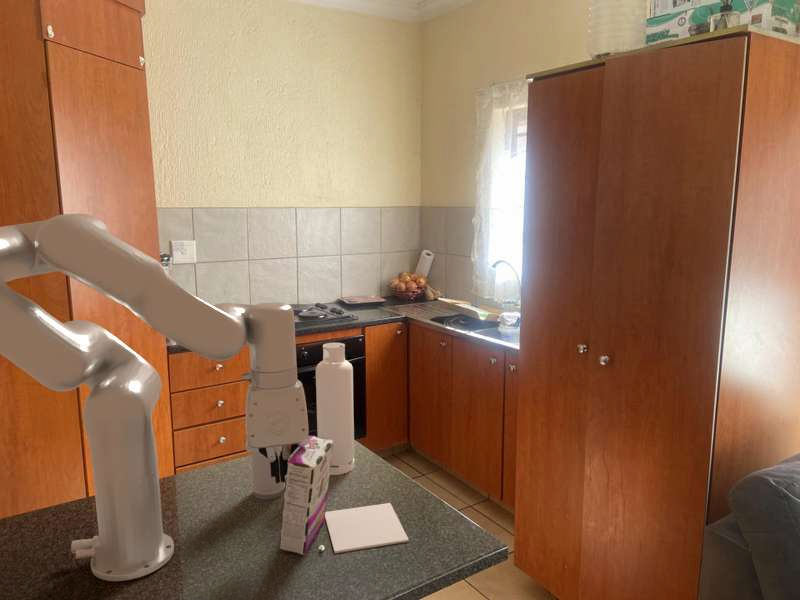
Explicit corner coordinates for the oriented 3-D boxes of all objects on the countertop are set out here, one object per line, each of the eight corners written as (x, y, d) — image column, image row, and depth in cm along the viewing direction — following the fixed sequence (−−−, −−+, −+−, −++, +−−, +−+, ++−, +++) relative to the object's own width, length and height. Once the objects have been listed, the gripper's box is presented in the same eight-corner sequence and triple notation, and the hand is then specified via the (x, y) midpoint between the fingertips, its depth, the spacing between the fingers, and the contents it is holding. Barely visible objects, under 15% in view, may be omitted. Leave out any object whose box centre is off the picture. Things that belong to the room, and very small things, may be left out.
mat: (334, 553, 98) (334, 551, 98) (324, 514, 111) (324, 512, 110) (408, 541, 101) (408, 539, 101) (390, 504, 114) (390, 502, 114)
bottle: (361, 469, 129) (359, 346, 125) (327, 478, 125) (324, 351, 120) (344, 455, 136) (342, 339, 131) (312, 464, 132) (308, 343, 127)
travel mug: (292, 489, 120) (289, 396, 117) (269, 503, 115) (265, 406, 111) (270, 481, 123) (266, 391, 120) (247, 494, 118) (242, 400, 115)
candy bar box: (299, 515, 109) (309, 434, 106) (324, 521, 108) (335, 439, 105) (276, 550, 98) (286, 460, 95) (304, 557, 97) (315, 467, 94)
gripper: (227, 388, 92) (234, 496, 95) (322, 379, 96) (326, 483, 99) (228, 374, 99) (235, 475, 102) (316, 367, 103) (320, 464, 106)
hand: (280, 479), depth 100 cm, fingers closed
